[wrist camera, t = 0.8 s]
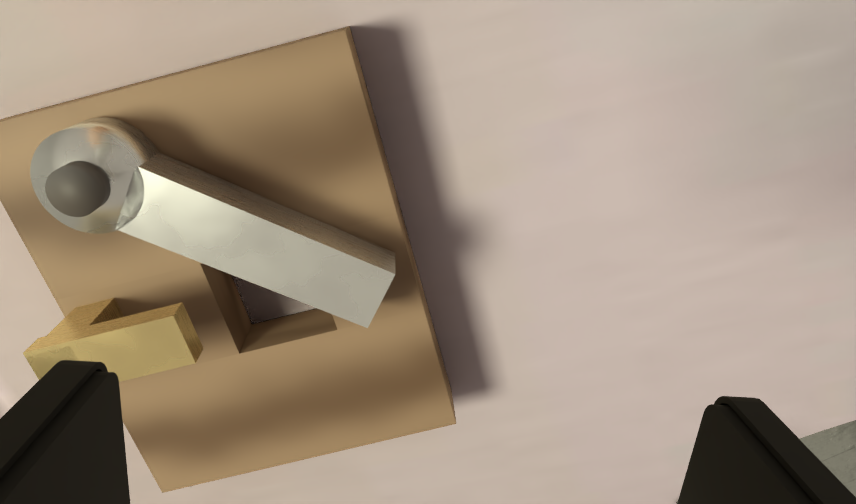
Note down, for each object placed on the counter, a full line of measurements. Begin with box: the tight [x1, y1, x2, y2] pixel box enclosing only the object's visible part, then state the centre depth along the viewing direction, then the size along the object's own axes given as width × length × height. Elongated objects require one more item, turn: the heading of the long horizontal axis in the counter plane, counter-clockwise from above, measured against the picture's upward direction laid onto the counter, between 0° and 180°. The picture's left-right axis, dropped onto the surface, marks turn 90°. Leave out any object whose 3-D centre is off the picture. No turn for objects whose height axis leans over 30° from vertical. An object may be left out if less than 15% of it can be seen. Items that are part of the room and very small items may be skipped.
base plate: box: [0, 26, 456, 493], centre depth 30 cm, size 21×17×7 cm
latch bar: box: [30, 117, 395, 328], centre depth 27 cm, size 15×4×2 cm, turn 64°
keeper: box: [23, 298, 204, 382], centre depth 28 cm, size 2×7×4 cm, turn 104°
